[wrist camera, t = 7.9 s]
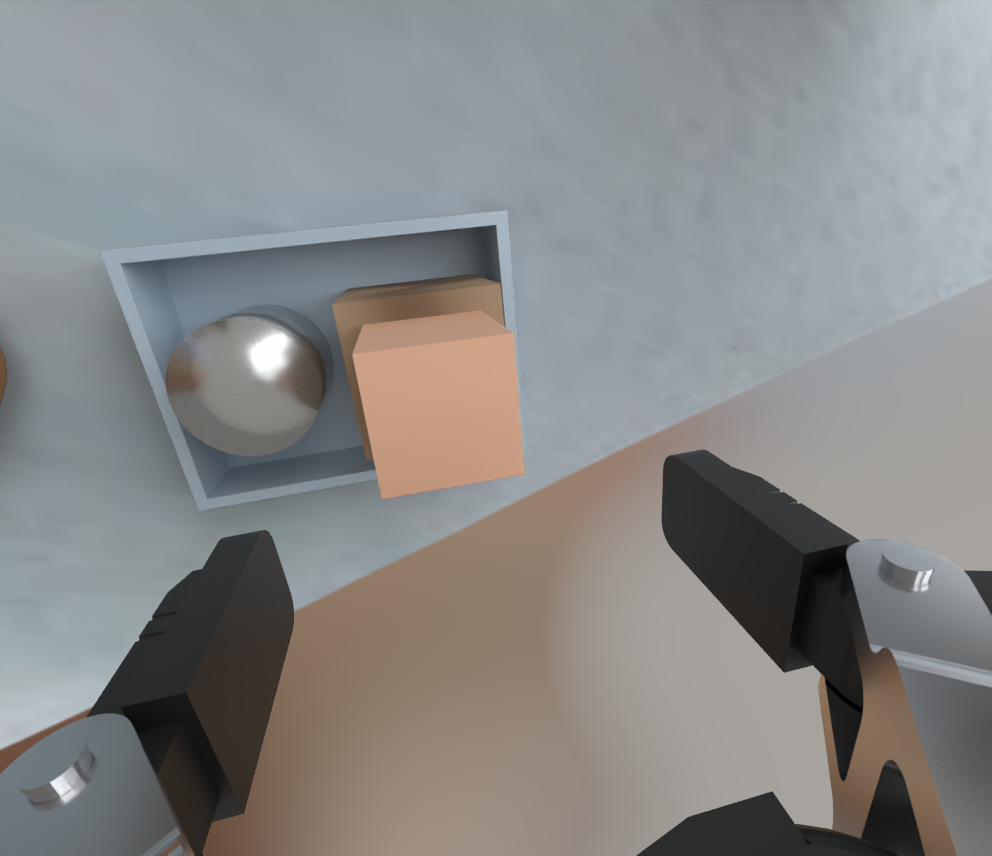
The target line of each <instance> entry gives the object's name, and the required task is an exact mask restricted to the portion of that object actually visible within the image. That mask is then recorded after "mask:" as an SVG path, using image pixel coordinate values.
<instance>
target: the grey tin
mask: <svg viewBox="0 0 992 856" xmlns="http://www.w3.org/2000/svg"><path fill="white" fill-rule="evenodd" d="M333 372H334V360H333V354H332V351H331V347H330V345H329V343H328V341H327V339H326V337H325V336H324V334H323V333H322V332H321V330H320V329H319V328H318V327H317V326H316V325H315V324H314V323H313V322H312V321H311V320H309V319H308V318H307V317H305V316H304V315H302V314H300V313H299V312H296V311H294V310H292V309H289V308H286V307H283V306H277V305H256V306H251V307H248V308H245V309H242V310H240V311H238V312H235V313H233V314H230V315H228V316H226V317H223V318H221V319H218V320H216V321H214V322H211V323H209V324H206V325H204V326H202V327H200V328H198V329H196V330H194V331H193V332H191V333H190V334H188V335H187V336H186V337H185V338H184V339H183V340H182V341H181V342H180V343H179V344H178V345H177V347H176V348H175V349H174V351H173V353H172V355H171V357H170V359H169V362H168V365H167V370H166V383H165V384H166V392H167V396H168V399H169V403H170V405H171V407H172V409H173V411H174V413H175V415H176V416H177V418H178V420H179V421H180V422H181V423H182V424H183V426H184V427H185V428H186V429H187V430H188V431H189V432H190V433H191V434H192V435H194V436H195V437H196V438H198V439H199V440H200V441H202V442H204V443H205V444H207V445H209V446H211V447H213V448H215V449H217V450H220V451H223V452H226V453H230V454H234V455H241V456H262V455H268V454H272V453H276V452H279V451H281V450H284V449H286V448H288V447H290V446H291V445H293V444H294V443H296V442H297V441H298V440H299V439H301V438H302V437H303V436H304V435H305V434H306V432H307V431H308V430H309V429H310V427H311V425H312V424H313V422H314V420H315V418H316V415H317V413H318V411H319V409H320V406H321V404H322V402H323V400H324V397H325V395H326V393H327V391H328V388H329V386H330V384H331V381H332V377H333Z"/></svg>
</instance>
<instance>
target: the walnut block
mask: <svg viewBox="0 0 992 856" xmlns="http://www.w3.org/2000/svg"><path fill="white" fill-rule="evenodd" d="M332 308H333V312H334V317H335V321H336V326H337V330H338V335H339V339H340V344H341V348H342V353H343V358H344V362H345V367H346V371H347V376H348V380H349V385H350V389H351V394H352V398H353V403H354V407H355V412H356V416H357V421H358V425H359V430H360V434H361V439H362V444H363V448H364V453H365V457H366V460H371V459H373V454H372V449H371V444H370V439H369V434H368V429H367V425H366V420H365V415H364V410H363V405H362V400H361V395H360V390H359V385H358V381H357V376H356V371H355V366H354V361H353V356H352V353H353V351H354V348H355V345H356V342H357V340H358V337H359V334H360V331H361V329H362V326H363V325H365V324H373V323H381V322H390V321H398V320H406V319H414V318H423V317H431V316H439V315H447V314H455V313H464V312H472V311H480V310H481V311H483V312H484V313H486V314H487V315H489V316H490V317H491V318H493V319H494V320H496V321H497V322H499V323H500V324H501V325H503V326H504V316H503V305H502V294H501V284H500V283H497V282H494V281H491V280H488V279H485V278H482V277H479V276H476V275H473V274H468V275H459V276H451V277H443V278H434V279H426V280H417V281H409V282H400V283H392V284H383V285H375V286H366V287H358V288H349V289H347V290H346V291H345V292H344V293H343V294H342V295H341V296H340V297H339V298H338V299H337V300H336V301H335V302H334V303H333V304H332Z"/></svg>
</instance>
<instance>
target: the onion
mask: <svg viewBox="0 0 992 856" xmlns="http://www.w3.org/2000/svg"><path fill="white" fill-rule="evenodd" d="M6 378H7V370H6V363H5V358H4V356H3V353H2V350H1V348H0V403H1V400H2V396H3V392H4V388H5V384H6Z"/></svg>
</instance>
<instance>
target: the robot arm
mask: <svg viewBox="0 0 992 856" xmlns="http://www.w3.org/2000/svg"><path fill="white" fill-rule="evenodd" d="M662 527H663V532H664V535H665V538H666V540H667V542H668V544H669V546H670V547H671V548H672V550H673V551H674V552H675V553H676V554H677V555H678V556H679V557H680V558H681V560H682V561H683V562H684V563H685V564H686V565H687V566H688V567H689V568H690V569H691V571H692V572H693V573H694V574H695V575H696V576H697V577H698V578H699V579H700V580H701V582H702V583H703V584H704V585H705V586H706V587H707V588H708V589H709V590H710V592H711V593H712V594H713V595H714V596H715V597H716V598H717V599H718V600H719V601H720V602H721V604H722V605H723V606H724V607H725V608H726V609H727V610H728V611H729V613H730V614H731V615H732V616H733V617H734V618H735V619H736V620H737V621H738V622H739V624H740V625H741V626H742V627H743V628H744V629H745V630H746V631H747V632H748V633H749V635H751V637H752V638H753V639H754V640H755V641H756V642H757V643H758V644H759V645H760V647H761V648H762V649H763V650H764V651H765V652H766V653H767V654H768V655H769V656H770V657H771V659H772V660H773V661H774V662H775V663H776V664H777V665H778V666H779V668H781V670H782V671H783V672H789V671H792V670H796V669H800V668H804V667H808V666H811V665H813V666H814V667H815V668H816V669H817V670H818V671H819V672H820V673H821V677H820V681H819V698H820V706H821V714H822V721H823V729H824V735H825V742H826V750H827V758H828V765H829V773H830V780H831V788H832V795H833V796H832V797H833V828H832V830H831V829H825V828H819V827H812V826H807V825H800V824H794V822H793V821H792V819H791V818H790V816H789V815H788V813H787V812H786V811H785V809H784V808H783V806H782V805H781V803H780V802H779V800H778V799H777V797H776V796H775V795H774V793H773V792H769V793H766V794H762V795H759V796H756V797H753V798H750V799H746V800H743V801H739V802H737V803H733V804H730V805H726V806H723V807H720V808H717V809H713V810H710V811H707V812H703V813H700V814H697V815H693V816H690V817H688V818H686V819H685V820H684V821H682V822H681V823H680V824H678V825H677V826H676V827H674V828H673V829H672V830H670V831H669V832H668V833H666V834H665V835H664V836H662V837H661V838H660V839H658V840H657V841H656V842H654V843H653V844H651V845H650V846H649V847H647V848H646V849H645V850H643V851H642V852H641V853H640V854H638V855H637V856H992V571H963V570H962V569H961V568H960V567H959V566H958V565H956V564H955V563H954V562H952V561H950V560H949V559H947V558H945V557H944V556H942V555H939V554H937V553H935V552H933V551H931V550H928V549H926V548H922V547H919V546H916V545H913V544H909V543H905V542H900V541H895V540H886V539H869V540H863V541H859V540H858V539H856V538H855V537H853V536H852V535H850V534H848V533H847V532H845V531H844V530H842V529H841V528H839V527H837V526H836V525H834V524H833V523H831V522H830V521H828V520H827V519H825V518H823V517H822V516H820V515H819V514H817V513H816V512H814V511H812V510H811V509H809V508H808V507H806V506H805V505H803V504H801V503H800V504H798V503H797V500H795V499H794V498H792V497H790V496H789V495H787V494H786V493H784V492H783V493H780V490H779V489H778V488H776V487H775V486H773V485H772V484H770V483H769V482H767V481H765V480H764V479H762V478H761V477H759V476H756V475H753V474H751V473H748V472H745V471H742V470H739V469H736V468H734V467H731V466H730V465H728V464H727V463H725V462H724V461H722V460H720V459H719V458H718V457H716V456H715V455H713V454H711V453H710V452H708V451H706V450H697V451H692V452H687V453H682V454H676V455H671V456H668V457H667V458H666V460H665V463H664V467H663V494H662ZM152 618H153V619H152V621H149V622H148V624H147V625H146V627H145V628H144V630H143V631H142V633H141V634H140V636H139V641H137V642H135V643H134V645H133V646H132V648H131V650H130V651H129V653H128V654H127V656H126V657H125V659H124V660H123V662H122V663H121V665H120V666H119V668H118V669H117V671H116V673H115V674H114V676H113V677H112V679H111V680H110V682H109V683H108V685H107V686H106V688H105V689H104V691H103V692H102V694H101V695H100V697H99V699H98V700H97V702H96V703H95V705H94V706H93V708H92V709H91V711H90V712H89V714H88V715H87V717H86V718H84V719H81V720H78V721H76V722H73V723H71V724H69V725H67V726H65V727H63V728H61V729H59V730H57V731H56V732H54V733H52V734H50V735H48V736H47V737H45V738H44V739H42V740H41V741H39V742H38V743H36V744H35V745H34V746H32V747H31V748H30V749H28V750H27V751H26V752H24V753H23V754H22V755H21V756H19V757H18V758H17V759H16V760H15V761H14V762H13V763H12V764H10V765H9V766H8V767H7V768H6V769H5V770H4V771H3V772H2V773H1V774H0V856H205V854H204V852H203V848H204V845H205V842H206V839H207V836H208V832H209V829H210V826H211V823H212V822H214V821H218V820H221V819H225V818H228V817H233V816H237V815H240V814H244V811H245V807H246V803H247V800H248V796H249V793H250V789H251V785H252V781H253V777H254V774H255V770H256V766H257V762H258V759H259V755H260V751H261V747H262V744H263V740H264V736H265V732H266V728H267V725H268V721H269V717H270V713H271V710H272V706H273V702H274V698H275V695H276V691H277V687H278V683H279V680H280V676H281V672H282V668H283V664H284V661H285V657H286V653H287V649H288V646H289V642H290V638H291V634H292V630H293V625H294V607H293V600H292V596H291V593H290V590H289V587H288V584H287V580H286V577H285V574H284V571H283V568H282V565H281V562H280V559H279V556H278V553H277V550H276V547H275V544H274V541H273V538H272V536H271V535H270V533H269V532H268V531H266V530H262V531H257V532H252V533H246V534H241V535H236V536H230V537H225V538H222V539H221V540H220V541H219V542H218V543H217V545H216V547H215V549H214V550H213V552H212V554H211V555H210V557H209V559H208V560H207V562H206V564H205V565H204V567H203V569H201V570H195V571H192V572H191V573H190V574H189V575H188V576H186V577H185V578H184V579H183V580H182V581H181V582H179V583H178V584H177V585H176V586H175V587H174V588H173V589H171V590H170V591H169V592H168V593H167V594H166V596H165V597H164V599H163V601H162V602H161V604H160V605H159V607H158V608H157V610H156V611H155V613H154V614H153V616H152Z"/></svg>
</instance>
